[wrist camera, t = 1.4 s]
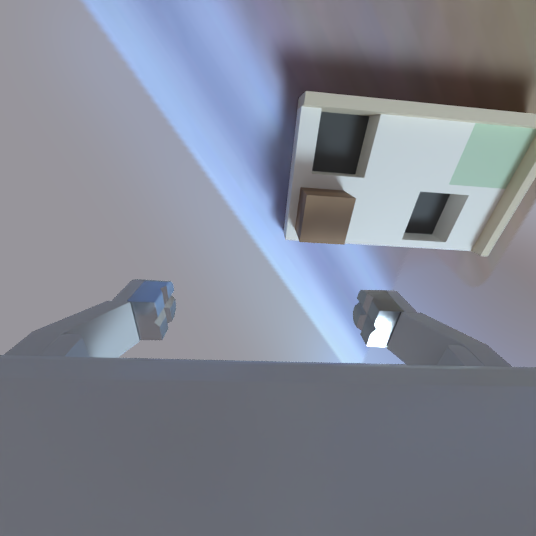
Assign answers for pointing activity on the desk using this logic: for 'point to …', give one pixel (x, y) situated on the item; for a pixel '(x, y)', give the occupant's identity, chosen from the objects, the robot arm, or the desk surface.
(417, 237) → the board
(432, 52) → the desk surface
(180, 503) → the robot arm
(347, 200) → the walnut block
